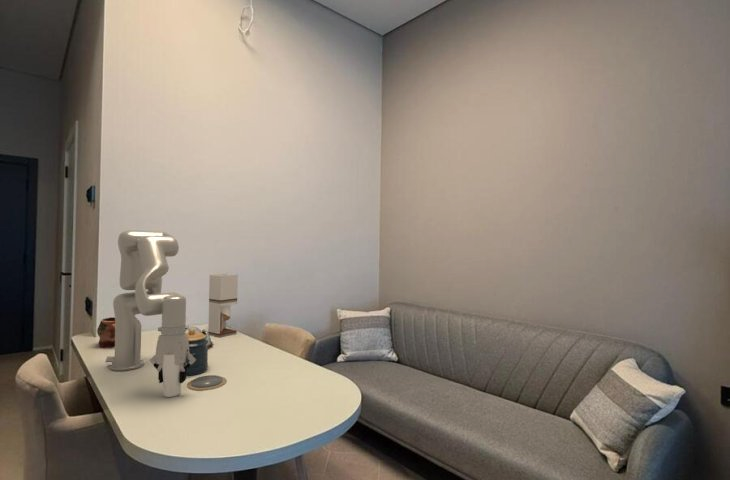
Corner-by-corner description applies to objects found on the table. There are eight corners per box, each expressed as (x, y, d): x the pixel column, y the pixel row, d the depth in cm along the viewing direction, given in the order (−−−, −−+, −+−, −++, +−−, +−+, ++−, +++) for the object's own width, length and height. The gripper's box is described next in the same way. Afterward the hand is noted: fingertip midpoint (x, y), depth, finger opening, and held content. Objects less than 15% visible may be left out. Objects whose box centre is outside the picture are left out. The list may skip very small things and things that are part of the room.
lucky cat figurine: (217, 348, 192) (209, 326, 186) (193, 361, 186) (184, 339, 179) (206, 334, 203) (198, 314, 196) (183, 346, 196) (174, 325, 190)
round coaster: (180, 390, 137) (180, 387, 137) (196, 376, 151) (196, 373, 151) (219, 390, 137) (219, 387, 137) (231, 377, 151) (231, 374, 151)
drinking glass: (173, 399, 129) (174, 355, 129) (156, 397, 130) (157, 354, 131) (186, 392, 136) (187, 350, 136) (170, 390, 137) (171, 348, 137)
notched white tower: (219, 337, 214) (221, 275, 214) (208, 335, 220) (209, 274, 220) (236, 333, 223) (237, 274, 224) (225, 331, 229) (226, 273, 230)
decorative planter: (131, 347, 191) (132, 319, 192) (103, 352, 182) (104, 323, 182) (118, 340, 204) (119, 314, 204) (91, 344, 195) (92, 317, 195)
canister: (173, 378, 149) (174, 333, 149) (173, 368, 161) (174, 327, 161) (209, 373, 155) (210, 330, 155) (206, 364, 167) (207, 324, 167)
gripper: (142, 333, 129) (141, 385, 129) (193, 333, 130) (192, 386, 130) (154, 328, 137) (153, 378, 137) (202, 328, 137) (201, 378, 137)
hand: (172, 381), depth 133 cm, fingers closed on drinking glass, 6 cm apart
